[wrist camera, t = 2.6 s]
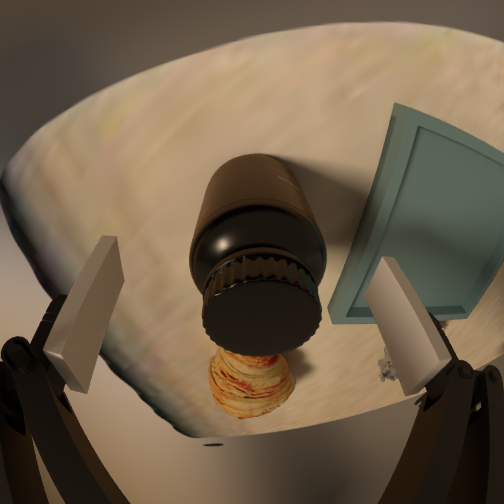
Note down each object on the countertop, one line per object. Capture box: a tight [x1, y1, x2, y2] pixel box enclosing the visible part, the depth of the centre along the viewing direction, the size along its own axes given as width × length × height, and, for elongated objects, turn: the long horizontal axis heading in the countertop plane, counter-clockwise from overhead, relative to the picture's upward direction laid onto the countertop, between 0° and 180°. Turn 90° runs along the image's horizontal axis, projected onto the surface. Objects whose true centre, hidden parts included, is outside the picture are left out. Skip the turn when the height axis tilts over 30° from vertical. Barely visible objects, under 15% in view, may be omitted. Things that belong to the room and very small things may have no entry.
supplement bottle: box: [189, 154, 327, 357], centre depth 16 cm, size 7×7×12 cm
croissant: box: [209, 346, 296, 419], centre depth 32 cm, size 21×10×8 cm, turn 178°
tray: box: [327, 103, 504, 324], centre depth 23 cm, size 20×20×2 cm
